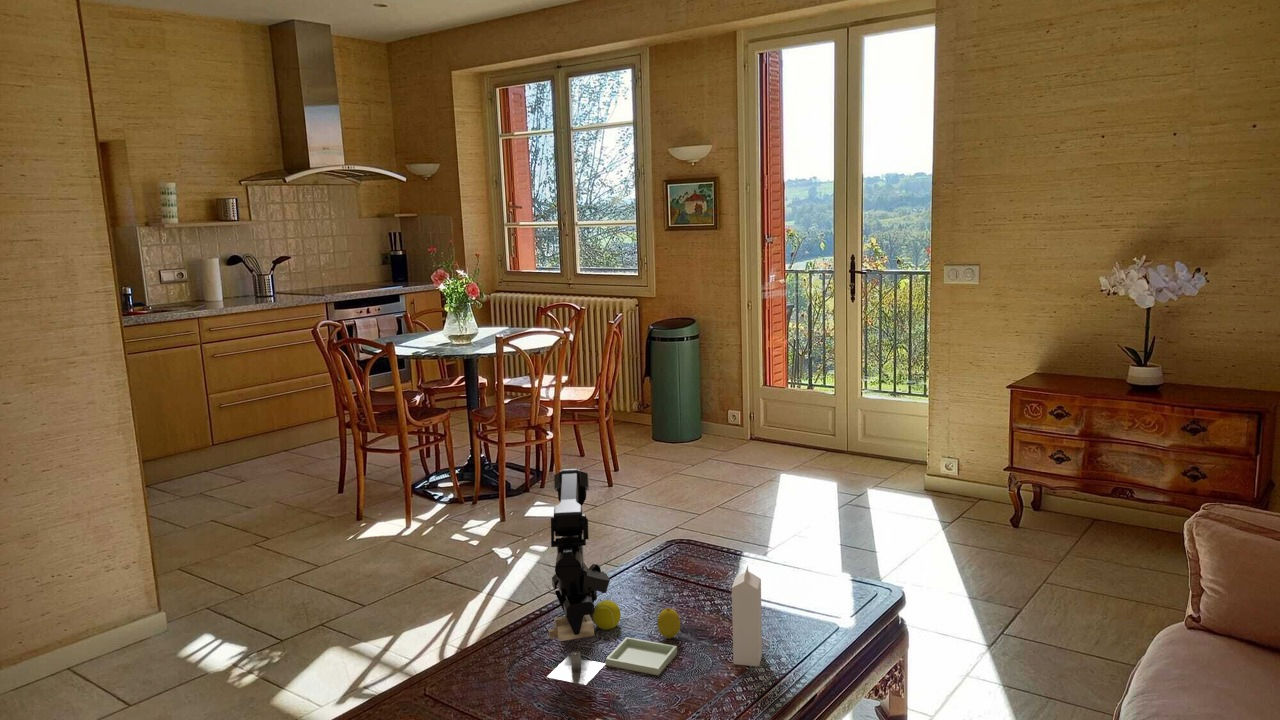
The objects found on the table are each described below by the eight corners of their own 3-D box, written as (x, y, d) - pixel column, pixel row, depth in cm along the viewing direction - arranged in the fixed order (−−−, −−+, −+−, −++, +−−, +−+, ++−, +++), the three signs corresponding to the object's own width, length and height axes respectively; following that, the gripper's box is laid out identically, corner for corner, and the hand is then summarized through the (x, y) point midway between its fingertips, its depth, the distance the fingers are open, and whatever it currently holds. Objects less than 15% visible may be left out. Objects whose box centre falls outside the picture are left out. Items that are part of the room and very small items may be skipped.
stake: (546, 678, 206) (545, 659, 205) (567, 657, 214) (566, 639, 214) (585, 686, 201) (584, 667, 201) (605, 665, 210) (604, 646, 210)
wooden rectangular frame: (588, 624, 210) (588, 612, 209) (594, 635, 205) (593, 623, 204) (547, 631, 207) (546, 619, 207) (551, 642, 202) (550, 630, 202)
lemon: (678, 644, 219) (677, 613, 217) (656, 643, 220) (655, 612, 218) (682, 634, 224) (681, 603, 223) (660, 632, 225) (659, 602, 224)
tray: (606, 666, 210) (605, 658, 209) (626, 644, 220) (626, 637, 219) (658, 677, 204) (658, 668, 204) (677, 653, 214) (676, 646, 214)
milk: (733, 664, 209) (730, 574, 205) (737, 651, 214) (734, 564, 210) (759, 666, 207) (757, 576, 203) (762, 653, 213) (760, 565, 209)
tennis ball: (616, 635, 225) (614, 609, 223) (589, 632, 227) (588, 606, 225) (624, 623, 231) (623, 597, 230) (598, 620, 233) (597, 594, 232)
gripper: (615, 574, 197) (618, 641, 199) (596, 544, 214) (599, 606, 217) (565, 582, 194) (569, 649, 196) (549, 551, 211) (553, 613, 214)
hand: (574, 628), depth 206 cm, fingers closed on wooden rectangular frame, 6 cm apart
